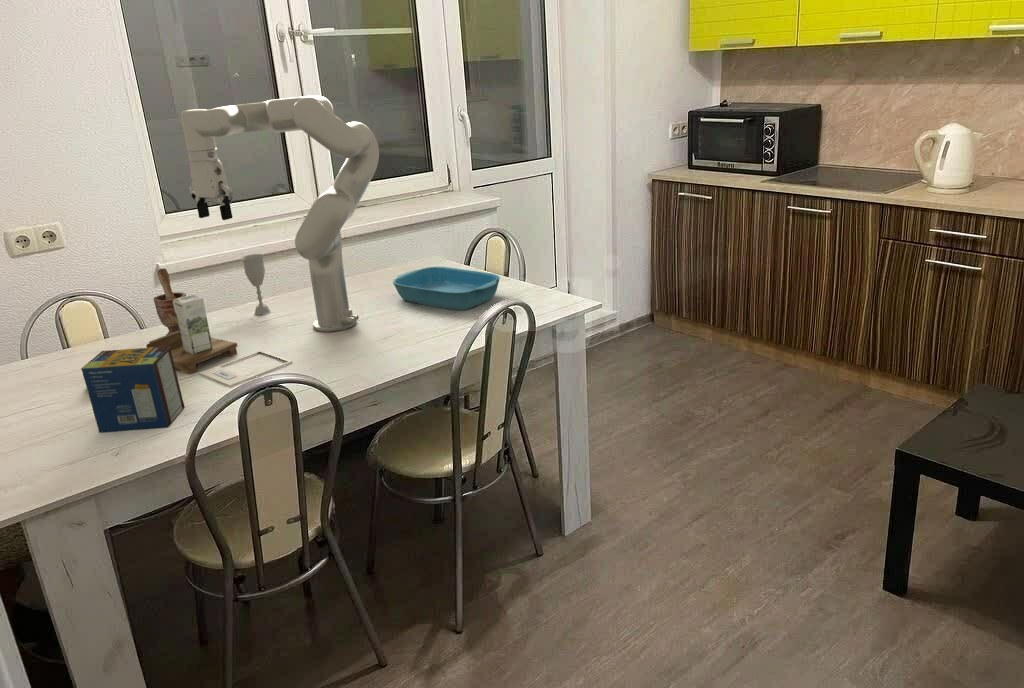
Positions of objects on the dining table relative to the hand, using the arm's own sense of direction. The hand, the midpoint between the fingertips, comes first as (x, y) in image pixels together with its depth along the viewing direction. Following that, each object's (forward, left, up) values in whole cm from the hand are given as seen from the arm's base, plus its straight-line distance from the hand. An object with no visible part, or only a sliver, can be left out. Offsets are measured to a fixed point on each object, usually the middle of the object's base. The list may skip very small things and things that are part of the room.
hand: (215, 218), depth 216 cm
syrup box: (-11, +22, -31) cm, 39 cm away
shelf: (-10, +22, -33) cm, 41 cm away
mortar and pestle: (+11, +13, -34) cm, 38 cm away
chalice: (+5, -14, -34) cm, 37 cm away
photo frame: (-28, +21, -34) cm, 49 cm away
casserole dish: (-43, -48, -34) cm, 72 cm away
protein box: (-30, +52, -34) cm, 69 cm away
